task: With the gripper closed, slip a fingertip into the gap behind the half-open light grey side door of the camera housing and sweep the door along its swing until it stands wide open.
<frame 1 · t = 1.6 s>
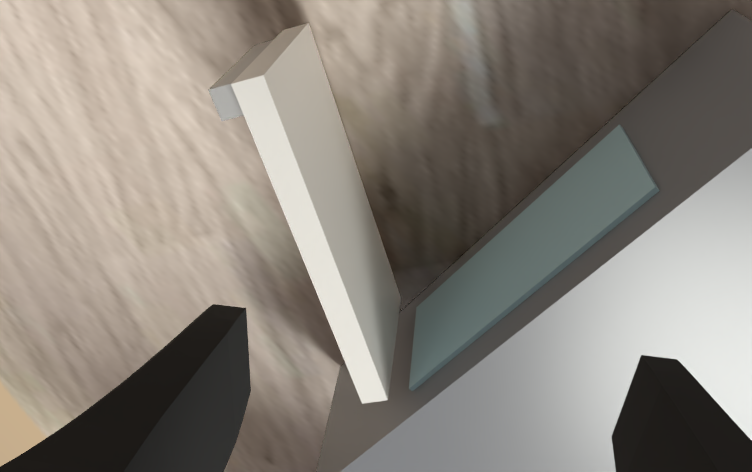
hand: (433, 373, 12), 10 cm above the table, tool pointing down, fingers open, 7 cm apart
camera housing: (620, 319, 23), on the table
side door: (323, 219, 19), point 3 cm above the table, hinge at 55.0°
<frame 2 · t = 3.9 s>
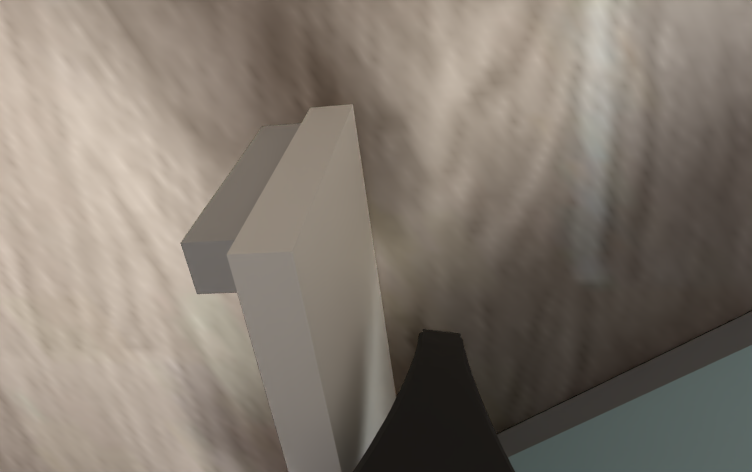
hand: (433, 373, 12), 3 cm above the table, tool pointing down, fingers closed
side door: (330, 405, 12), point 3 cm above the table, hinge at 55.6°, touching gripper
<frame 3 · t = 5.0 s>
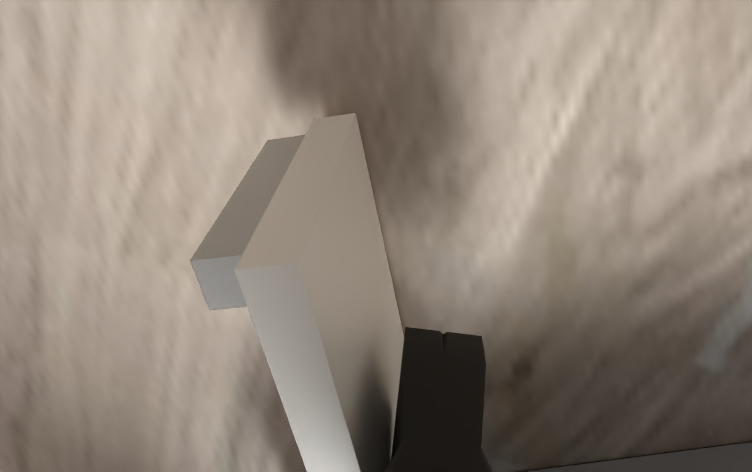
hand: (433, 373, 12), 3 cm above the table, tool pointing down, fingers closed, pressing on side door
side door: (350, 413, 12), point 3 cm above the table, hinge at 82.2°, touching gripper
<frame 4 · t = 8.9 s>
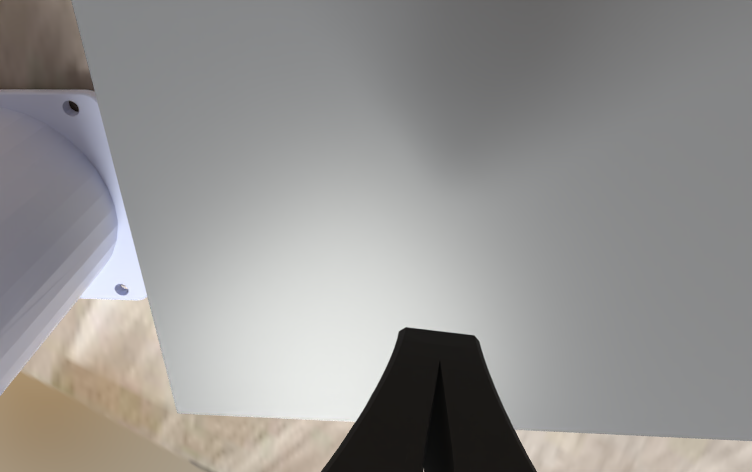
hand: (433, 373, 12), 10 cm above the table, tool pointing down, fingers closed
camera housing: (483, 149, 20), on the table
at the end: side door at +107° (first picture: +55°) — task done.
